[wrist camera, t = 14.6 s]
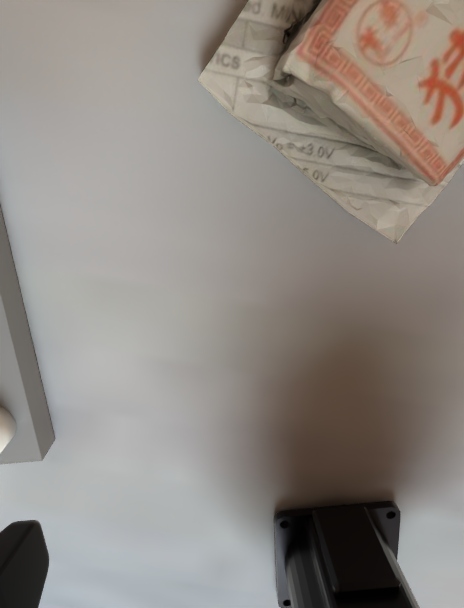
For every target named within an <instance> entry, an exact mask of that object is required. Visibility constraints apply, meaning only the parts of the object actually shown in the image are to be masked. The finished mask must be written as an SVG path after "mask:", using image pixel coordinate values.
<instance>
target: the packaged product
mask: <svg viewBox="0 0 464 608" xmlns="http://www.w3.org/2000/svg"><path fill="white" fill-rule="evenodd" d="M198 81H199V82H200V83H201V84H202V85H203V86H204V87H205V88H206V89H207V90H208V91H209V92H210V93H211V94H212V95H213V96H214V97H215V98H216V100H217V101H218V102H219V103H220V104H221V105H222V106H223V107H224V108H225V109H226V110H227V111H228V112H229V113H230V114H231V115H233V116H234V117H235V118H237V119H238V120H239V121H241V122H242V123H243V124H245V125H246V126H247V127H249V128H250V129H251V130H253V131H254V132H255V133H257V134H258V135H259V136H261V137H262V138H263V139H265V140H266V141H267V142H269V143H270V144H271V145H273V146H274V147H275V148H276V149H277V150H278V151H280V152H281V153H282V154H283V155H284V156H285V157H286V158H287V159H288V160H289V161H290V162H292V163H293V164H294V165H295V166H296V167H297V168H298V169H299V170H300V171H301V172H302V173H303V174H305V175H306V176H307V177H308V178H309V179H310V180H312V181H313V182H314V183H315V184H316V185H317V186H318V187H320V188H321V189H322V190H323V191H324V192H325V193H327V194H328V195H329V196H330V197H331V198H332V199H334V200H335V201H336V202H337V203H338V204H339V205H340V206H342V207H343V208H344V209H345V210H346V211H347V212H349V213H350V214H352V215H353V216H355V217H356V218H358V219H359V220H361V221H362V222H364V223H365V224H367V225H368V226H370V227H371V228H373V229H375V230H376V231H378V232H379V233H381V234H382V235H384V236H385V237H387V238H388V239H390V240H391V241H393V242H394V243H396V244H397V243H398V242H399V240H400V239H401V237H402V236H403V235H404V233H405V232H406V231H407V230H408V228H409V227H410V226H411V225H412V224H413V222H414V221H415V220H416V219H417V218H418V216H419V215H420V214H421V213H422V212H423V211H424V210H425V209H426V208H427V207H429V206H430V205H431V204H432V202H433V201H434V200H435V199H436V197H437V196H438V195H439V193H440V192H441V191H442V190H443V188H444V187H445V186H446V185H447V184H448V183H449V181H450V180H451V178H452V177H453V176H454V174H455V173H456V171H457V170H458V169H459V167H460V166H461V165H462V164H463V163H464V0H248V2H247V3H246V5H245V7H244V8H243V10H242V11H241V13H240V15H239V16H238V18H237V19H236V21H235V22H234V24H233V25H232V27H231V28H230V30H229V31H228V33H227V35H226V37H225V38H224V40H223V41H222V43H221V44H220V46H219V47H218V49H217V50H216V52H215V54H214V55H213V57H212V58H211V60H210V61H209V63H208V64H207V66H206V67H205V69H204V70H203V72H202V73H201V75H200V77H199V79H198Z"/></svg>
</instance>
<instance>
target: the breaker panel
mask: <svg viewBox="0 0 464 608" xmlns="http://www.w3.org/2000/svg"><path fill="white" fill-rule="evenodd" d="M54 441H55V437H54V433H53V428H52V424H51V420H50V416H49V411H48V407H47V403H46V399H45V394H44V390H43V386H42V381H41V377H40V373H39V369H38V364H37V360H36V356H35V352H34V347H33V343H32V339H31V335H30V330H29V326H28V322H27V317H26V313H25V309H24V305H23V300H22V296H21V292H20V288H19V283H18V279H17V275H16V270H15V266H14V262H13V258H12V253H11V249H10V245H9V241H8V236H7V232H6V228H5V224H4V219H3V215H2V211H1V206H0V464H9V463H21V462H33V461H42V460H43V459H44V457H45V455H46V454H47V452H48V450H49V449H50V447H51V445H52V444H53V442H54Z"/></svg>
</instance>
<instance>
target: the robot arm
mask: <svg viewBox="0 0 464 608" xmlns="http://www.w3.org/2000/svg"><path fill="white" fill-rule="evenodd" d="M390 511H391V512H390ZM388 512H389V513H388ZM282 521H286V522H282ZM399 527H400V511H399V509H398V507H397V505H396V504H395V503H394V502H390V501H387V502H375V503H364V504H353V505H342V506H330V507H319V508H308V509H297V510H285V511H280V512H278V513H277V514H276V515H275V516H274V534H275V557H276V580H277V598H278V604H279V607H281V608H419V606H418V604H417V601H416V599H415V597H414V595H413V593H412V591H411V589H410V587H409V585H408V583H407V581H406V579H405V577H404V575H403V572H402V570H401V568H400V566H399V564H398V562H397V554H398V541H399ZM48 567H49V554H48V550H47V546H46V543H45V539H44V535H43V531H42V528H41V525H40V523H39V522H38V521H36V520H27V521H17V522H13V523H11V524H10V525H9V526H7V527H6V528H5V529H4V530H3V531H1V532H0V608H38V606H39V603H40V599H41V595H42V591H43V588H44V584H45V580H46V576H47V572H48Z"/></svg>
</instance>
